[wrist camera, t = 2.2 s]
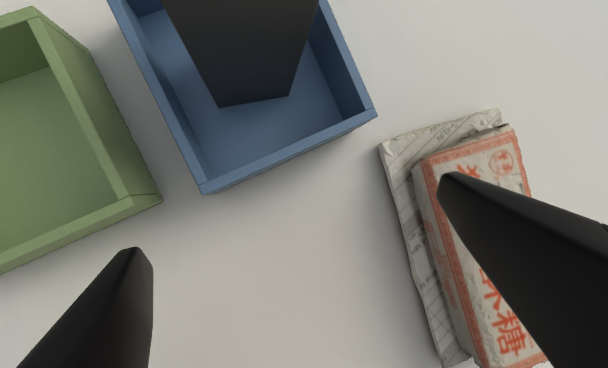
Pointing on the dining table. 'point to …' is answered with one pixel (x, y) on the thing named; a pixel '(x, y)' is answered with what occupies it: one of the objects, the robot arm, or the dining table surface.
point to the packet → (244, 44)
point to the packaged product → (447, 245)
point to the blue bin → (252, 116)
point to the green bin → (59, 144)
